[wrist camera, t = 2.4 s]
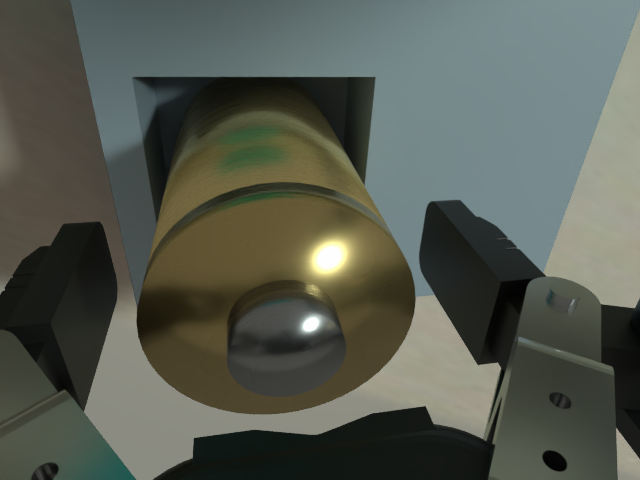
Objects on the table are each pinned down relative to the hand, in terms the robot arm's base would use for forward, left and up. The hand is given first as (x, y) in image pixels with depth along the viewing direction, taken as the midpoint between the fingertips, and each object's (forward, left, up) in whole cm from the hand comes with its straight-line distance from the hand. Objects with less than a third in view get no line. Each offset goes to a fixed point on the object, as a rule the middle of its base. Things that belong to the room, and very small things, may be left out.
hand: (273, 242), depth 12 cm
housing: (-1, +3, -7) cm, 7 cm away
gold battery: (-1, 0, -5) cm, 5 cm away
